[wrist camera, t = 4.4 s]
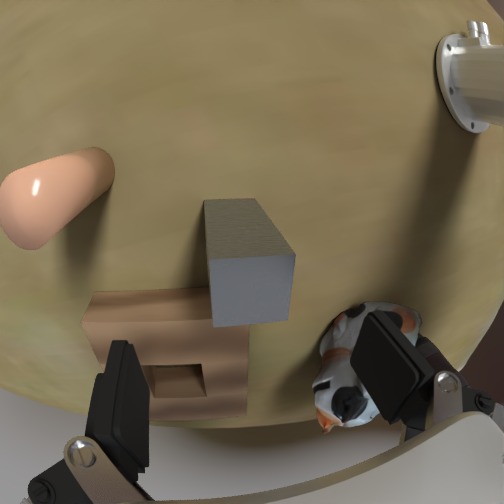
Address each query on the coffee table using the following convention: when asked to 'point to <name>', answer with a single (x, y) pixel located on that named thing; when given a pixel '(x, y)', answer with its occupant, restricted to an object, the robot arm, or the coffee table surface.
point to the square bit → (246, 264)
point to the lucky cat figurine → (342, 374)
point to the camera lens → (436, 358)
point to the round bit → (52, 194)
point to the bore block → (175, 350)
